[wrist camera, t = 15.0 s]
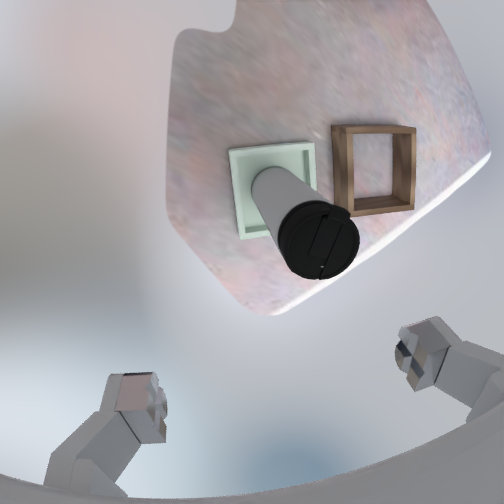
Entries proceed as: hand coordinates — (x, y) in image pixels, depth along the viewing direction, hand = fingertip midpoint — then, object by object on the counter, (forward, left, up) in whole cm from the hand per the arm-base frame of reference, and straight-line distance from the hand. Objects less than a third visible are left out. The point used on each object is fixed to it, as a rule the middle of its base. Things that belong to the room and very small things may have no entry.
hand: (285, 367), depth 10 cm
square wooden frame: (+1, +20, -34) cm, 39 cm away
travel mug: (+3, +6, -34) cm, 34 cm away
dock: (+3, +6, -34) cm, 35 cm away
